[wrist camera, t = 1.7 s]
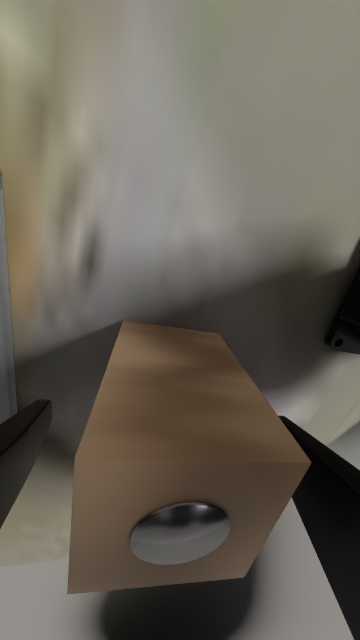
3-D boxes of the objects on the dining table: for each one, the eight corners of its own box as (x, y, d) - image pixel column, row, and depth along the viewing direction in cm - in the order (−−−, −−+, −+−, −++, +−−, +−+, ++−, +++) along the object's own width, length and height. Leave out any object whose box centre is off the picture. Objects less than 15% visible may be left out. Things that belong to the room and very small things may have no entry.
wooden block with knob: (218, 333, 11) (313, 466, 5) (197, 406, 13) (245, 581, 6) (123, 319, 10) (73, 462, 4) (113, 400, 12) (66, 599, 5)
